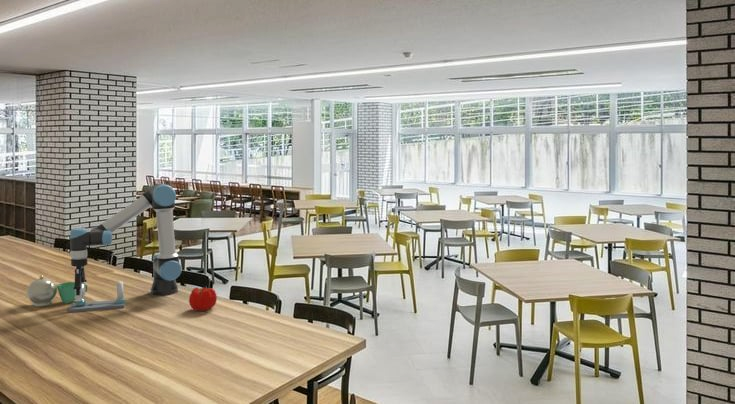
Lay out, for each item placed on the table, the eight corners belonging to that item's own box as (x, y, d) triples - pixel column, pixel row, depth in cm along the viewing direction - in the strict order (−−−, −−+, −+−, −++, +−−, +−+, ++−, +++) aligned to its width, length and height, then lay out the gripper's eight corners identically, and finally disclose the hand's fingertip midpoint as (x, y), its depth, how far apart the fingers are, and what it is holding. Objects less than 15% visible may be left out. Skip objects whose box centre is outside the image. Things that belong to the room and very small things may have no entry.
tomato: (221, 307, 284) (221, 286, 283) (203, 314, 271) (202, 292, 270) (202, 304, 289) (202, 283, 288) (183, 311, 276) (182, 289, 275)
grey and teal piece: (125, 301, 292) (125, 279, 291) (124, 307, 281) (123, 284, 280) (72, 306, 283) (71, 283, 282) (68, 312, 272) (67, 288, 271)
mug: (58, 305, 284) (58, 287, 283) (56, 301, 292) (56, 283, 291) (89, 301, 292) (88, 283, 292) (86, 297, 300) (86, 280, 300)
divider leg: (86, 303, 281) (85, 283, 280) (85, 305, 279) (84, 284, 278) (76, 304, 280) (75, 284, 279) (75, 305, 277) (75, 285, 276)
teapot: (63, 304, 287) (62, 274, 286) (38, 310, 275) (37, 279, 274) (42, 299, 295) (41, 270, 294) (17, 305, 283) (16, 275, 281)
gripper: (74, 254, 287) (76, 292, 289) (66, 262, 264) (68, 304, 266) (90, 253, 290) (91, 291, 292) (83, 262, 267) (85, 303, 269)
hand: (80, 297), depth 279 cm, fingers open, 13 cm apart
